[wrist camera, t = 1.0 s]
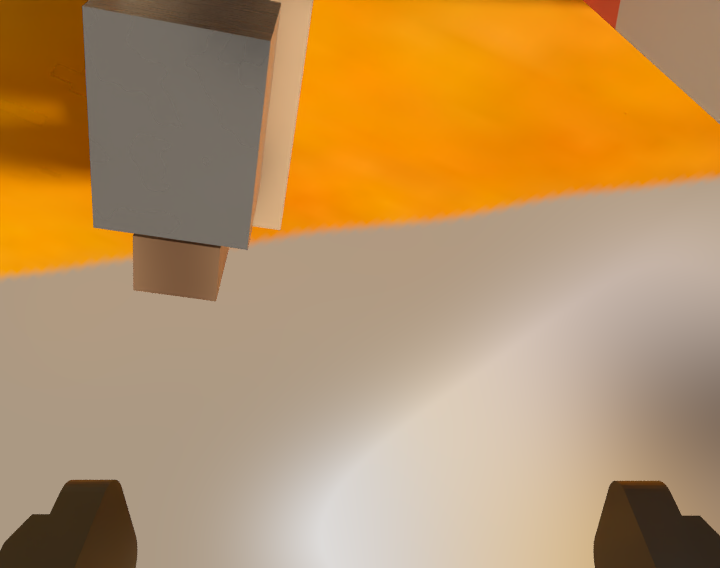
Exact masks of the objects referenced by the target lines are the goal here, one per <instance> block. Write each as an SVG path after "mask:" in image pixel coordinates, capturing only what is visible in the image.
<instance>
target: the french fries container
mask: <svg viewBox="0 0 720 568" xmlns="http://www.w3.org/2000/svg"><path fill="white" fill-rule="evenodd" d="M583 1H584V2H586V3H587V4H588V5H589V6H590V7H591V8H592V9H593V10H594V11H596V12H597V13H598V14H599V15H600V16H601V17H602V18H603V19H604V20H605V21H607V22H608V23H609V24H610V25H611V26H612V27H613V28H614V29H615V30H617V31H618V32H619V33H620V34H621V35H622V36H623V37H624V38H625V39H626V40H628V41H629V42H630V43H631V44H632V45H633V46H634V47H635V48H636V49H638V50H639V51H640V52H641V53H642V54H643V55H644V56H645V57H646V58H647V59H649V60H650V61H651V62H652V63H653V64H654V65H655V66H656V67H657V68H659V69H660V70H661V71H662V72H663V73H664V74H665V75H666V76H667V77H668V78H670V79H671V80H672V81H673V82H674V83H675V84H676V85H677V86H678V87H680V88H681V89H682V90H683V91H684V92H685V93H686V94H687V95H688V96H689V97H691V98H692V99H693V100H694V101H695V102H696V103H697V104H698V105H699V106H701V107H702V108H703V109H704V110H705V111H706V112H707V113H708V114H709V115H711V116H712V117H713V118H714V119H715V120H716V121H717V122H718V123H719V124H720V0H583Z"/></svg>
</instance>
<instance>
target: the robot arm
mask: <svg viewBox="0 0 720 568" xmlns="http://www.w3.org/2000/svg"><path fill="white" fill-rule="evenodd" d="M136 561H137V540H136V535H135V532H134V528H133V525H132V521H131V518H130V514H129V511H128V508H127V504H126V501H125V497H124V494H123V491H122V487H121V484H120V483H119V481H117V480H70V481H68V482H67V483H66V484H65V485H64V487H63V488H62V490H61V492H60V494H59V496H58V498H57V500H56V502H55V504H54V507H53V509H52V511H51V513H50V514H45V515H44V514H41V515H40V514H33V515H31V516H30V517H29V518H28V519H27V520H26V521H25V522H24V523H23V525H21V526H20V527H19V528H18V529H17V530H16V531H15V532H14V533H13V534H12V535H11V536H10V537H9V538H8V540H6V542H5V543H4V544H3V546H2V549H1V550H0V568H136ZM594 563H595V568H720V536H719V535H718V534H717V533H716V532H715V531H714V530H713V529H712V528H711V527H710V526H709V525H708V524H707V523H706V522H705V521H704V520H703V518H702V517H700V516H682V515H681V514H680V511H679V509H678V507H677V505H676V503H675V501H674V499H673V497H672V495H671V493H670V491H669V489H668V487H667V486H666V485H665V484H664V483H663V482H661V481H613V482H612V483H611V484H610V487H609V490H608V493H607V496H606V500H605V504H604V507H603V511H602V514H601V518H600V521H599V525H598V529H597V532H596V535H595V540H594Z"/></svg>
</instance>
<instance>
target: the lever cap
mask: <svg viewBox="0 0 720 568" xmlns="http://www.w3.org/2000/svg"><path fill="white" fill-rule="evenodd" d="M82 11H83V30H84V50H85V69H86V89H87V108H88V128H89V147H90V167H91V186H92V206H93V226H94V228H101V229H108V230H114V231H121V232H128V233H135V234H142V235H149V236H156V237H163V238H169V239H176V240H183V241H190V242H197V243H204V244H211V245H217V246H224V247H231V248H238V249H245V250H248V245H249V240H250V235H251V231H252V226H253V221H254V216H255V211H256V206H257V201H258V196H259V191H260V183H261V174H262V166H263V157H264V148H265V140H266V131H267V123H268V114H269V105H270V97H271V88H272V80H273V71H274V63H275V54H276V45H277V37H278V28H279V20H280V11H281V3H280V2H275V1H269V0H89V1H87V2H86V3H85V4H84V5H83V6H82Z"/></svg>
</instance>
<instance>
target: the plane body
mask: <svg viewBox="0 0 720 568" xmlns="http://www.w3.org/2000/svg"><path fill="white" fill-rule="evenodd" d="M269 1H275V2H280V3H281V11H280V20H279V28H278V37H277V45H276V54H275V63H274V71H273V80H272V88H271V97H270V105H269V114H268V123H267V131H266V140H265V148H264V157H263V166H262V174H261V183H260V191H259V196H258V201H257V206H256V211H255V216H254V221H253V226H256V227H262V228H269V229H276V230H281V223H282V216H283V209H284V202H285V195H286V188H287V181H288V174H289V167H290V160H291V153H292V146H293V139H294V132H295V125H296V118H297V111H298V104H299V97H300V90H301V83H302V76H303V69H304V62H305V55H306V48H307V41H308V34H309V27H310V20H311V13H312V6H313V0H269ZM228 250H229V247H224V246H217V245H211V244H204V243H197V242H190V241H183V240H176V239H169V238H163V237H156V236H149V235H142V234H135V233H134V235H133V282H134V283H133V287H134V290H136V291H144V292H151V293H159V294H167V295H173V296H181V297H188V298H196V299H203V300H210V301H216V299H217V295H218V291H219V287H220V282H221V278H222V274H223V270H224V266H225V262H226V258H227V254H228Z"/></svg>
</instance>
